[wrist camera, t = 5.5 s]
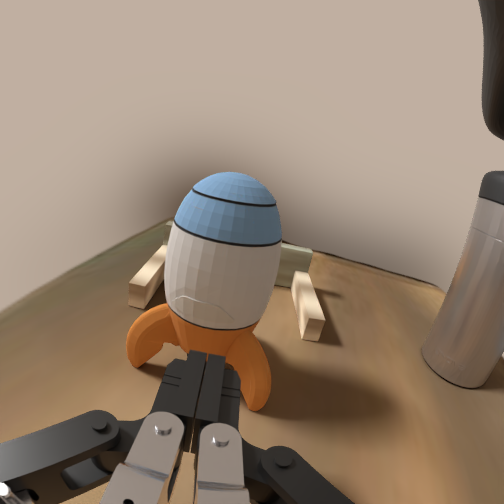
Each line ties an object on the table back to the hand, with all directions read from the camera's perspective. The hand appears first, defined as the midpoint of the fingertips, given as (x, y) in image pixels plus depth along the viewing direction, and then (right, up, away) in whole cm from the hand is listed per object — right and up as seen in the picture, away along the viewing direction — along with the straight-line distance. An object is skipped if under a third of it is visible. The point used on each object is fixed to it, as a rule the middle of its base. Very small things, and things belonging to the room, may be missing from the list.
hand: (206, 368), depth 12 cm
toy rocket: (-1, -4, +9) cm, 10 cm away
